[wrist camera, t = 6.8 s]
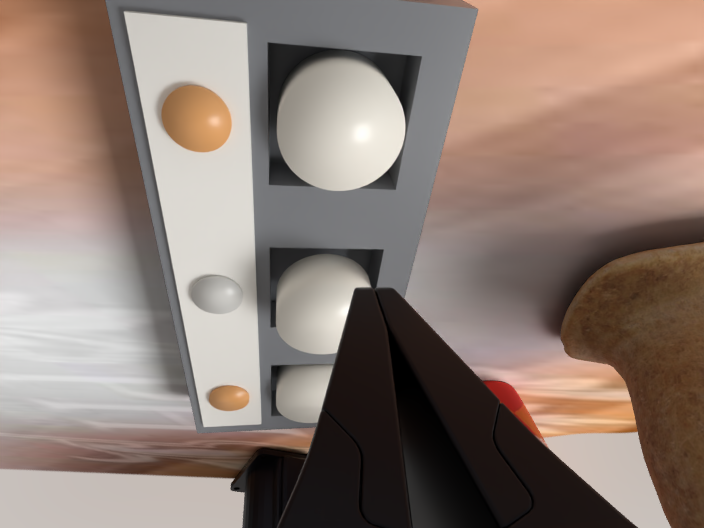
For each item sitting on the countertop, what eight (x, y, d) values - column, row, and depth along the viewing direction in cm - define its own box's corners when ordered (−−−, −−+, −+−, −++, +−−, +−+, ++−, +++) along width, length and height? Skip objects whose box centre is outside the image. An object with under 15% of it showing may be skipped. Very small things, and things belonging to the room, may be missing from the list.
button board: (366, 391, 31) (372, 429, 28) (203, 398, 29) (196, 439, 27) (454, -4, 16) (482, 11, 13) (124, -43, 14) (93, -32, 12)
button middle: (363, 322, 22) (369, 353, 21) (276, 323, 21) (275, 355, 20) (376, 254, 19) (384, 284, 18) (276, 253, 19) (275, 284, 17)
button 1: (384, 168, 18) (393, 193, 17) (277, 163, 17) (276, 188, 16) (404, 55, 15) (417, 72, 14) (277, 43, 15) (276, 60, 13)
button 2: (345, 393, 28) (348, 421, 27) (276, 395, 27) (276, 424, 26) (353, 348, 25) (357, 377, 24) (276, 350, 25) (275, 380, 23)
